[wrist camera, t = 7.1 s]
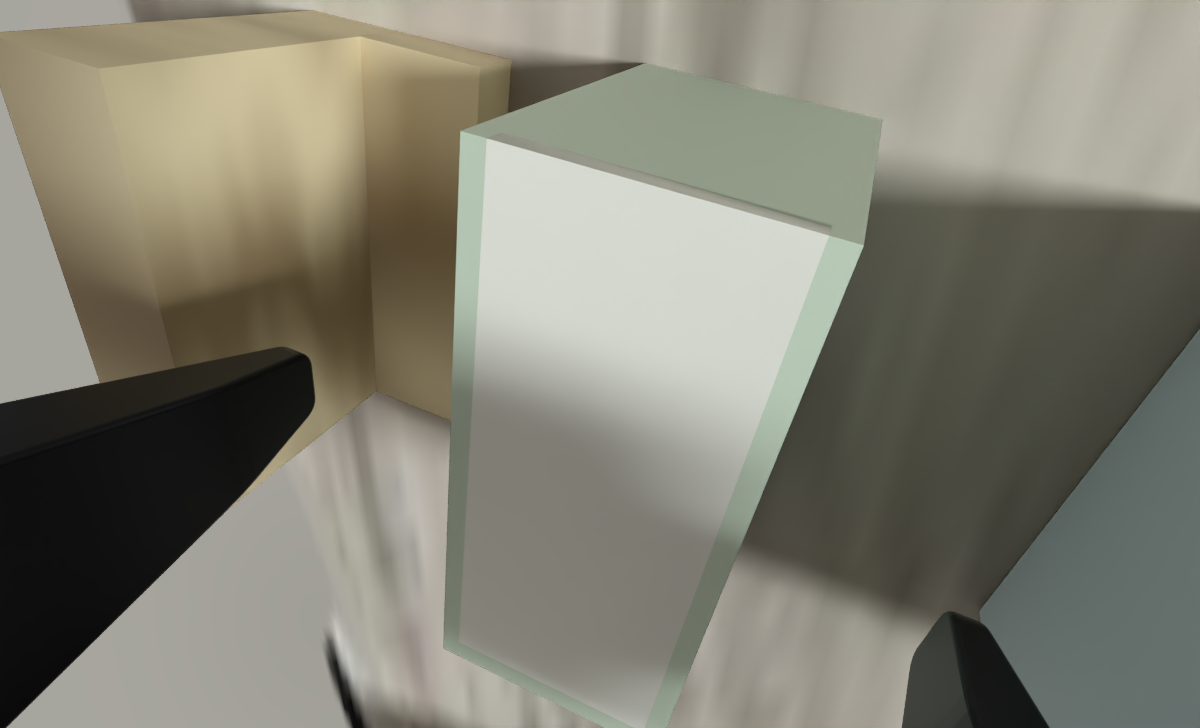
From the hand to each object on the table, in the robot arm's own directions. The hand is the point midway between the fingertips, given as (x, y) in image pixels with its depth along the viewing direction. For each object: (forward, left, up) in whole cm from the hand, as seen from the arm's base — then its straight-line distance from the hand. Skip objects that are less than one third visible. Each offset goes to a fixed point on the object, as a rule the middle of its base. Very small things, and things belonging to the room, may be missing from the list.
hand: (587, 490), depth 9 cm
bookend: (0, +7, -6) cm, 9 cm away
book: (0, 0, -6) cm, 6 cm away
